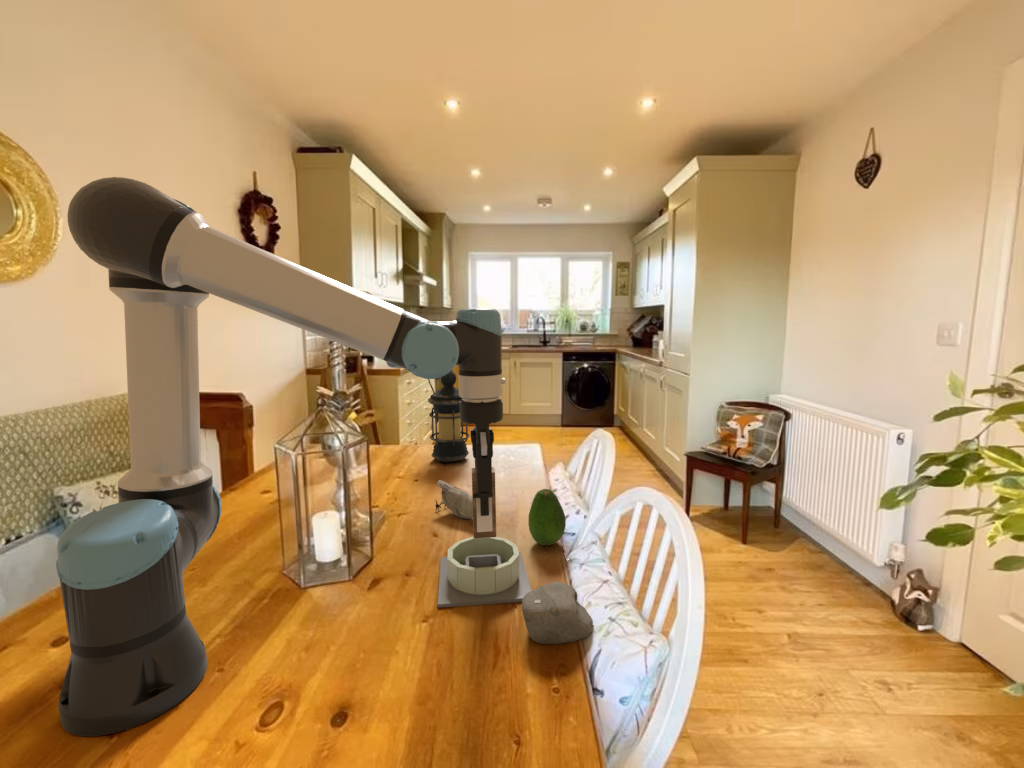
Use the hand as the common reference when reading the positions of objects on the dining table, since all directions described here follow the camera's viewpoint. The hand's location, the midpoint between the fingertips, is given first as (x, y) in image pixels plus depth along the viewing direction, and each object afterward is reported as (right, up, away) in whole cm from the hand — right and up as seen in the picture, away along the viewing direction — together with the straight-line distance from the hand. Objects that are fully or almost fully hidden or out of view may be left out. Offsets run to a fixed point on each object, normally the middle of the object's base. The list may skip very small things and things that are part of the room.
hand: (484, 526), depth 87 cm
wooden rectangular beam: (0, -2, 0) cm, 2 cm away
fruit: (+12, -8, +15) cm, 21 cm away
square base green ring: (0, -10, +1) cm, 10 cm away
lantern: (-16, 0, +74) cm, 76 cm away
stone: (+12, -12, -13) cm, 22 cm away
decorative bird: (-7, -7, +29) cm, 30 cm away
